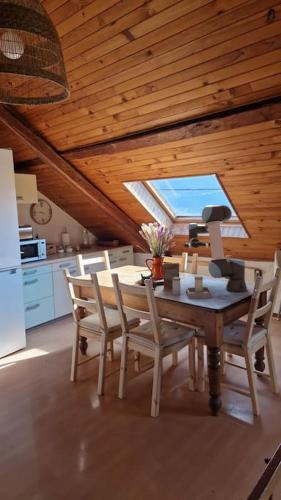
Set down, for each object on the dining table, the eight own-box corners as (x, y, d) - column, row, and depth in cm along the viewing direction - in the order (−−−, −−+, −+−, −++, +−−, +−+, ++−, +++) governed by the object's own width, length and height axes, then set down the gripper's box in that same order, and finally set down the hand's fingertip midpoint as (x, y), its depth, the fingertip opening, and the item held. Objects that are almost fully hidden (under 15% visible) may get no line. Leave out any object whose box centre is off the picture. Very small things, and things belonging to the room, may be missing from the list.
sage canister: (204, 292, 252) (204, 276, 250) (201, 294, 247) (201, 278, 245) (196, 292, 255) (196, 276, 253) (193, 294, 250) (193, 277, 248)
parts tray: (186, 292, 259) (186, 287, 258) (207, 291, 259) (207, 287, 258) (189, 298, 243) (189, 293, 242) (212, 297, 243) (212, 292, 242)
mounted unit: (163, 288, 272) (163, 263, 269) (179, 287, 272) (178, 262, 269) (164, 290, 264) (163, 265, 261) (180, 290, 264) (179, 264, 261)
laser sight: (147, 290, 268) (147, 277, 267) (138, 283, 290) (138, 272, 288) (159, 289, 271) (159, 276, 270) (149, 282, 292) (149, 271, 291)
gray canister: (180, 293, 256) (181, 277, 254) (179, 295, 250) (179, 279, 249) (173, 293, 257) (173, 277, 256) (171, 294, 252) (171, 278, 250)
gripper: (209, 246, 290) (215, 250, 269) (179, 247, 290) (182, 251, 269) (209, 237, 289) (215, 241, 268) (179, 238, 289) (182, 242, 268)
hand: (199, 246), depth 268 cm, fingers open, 13 cm apart
